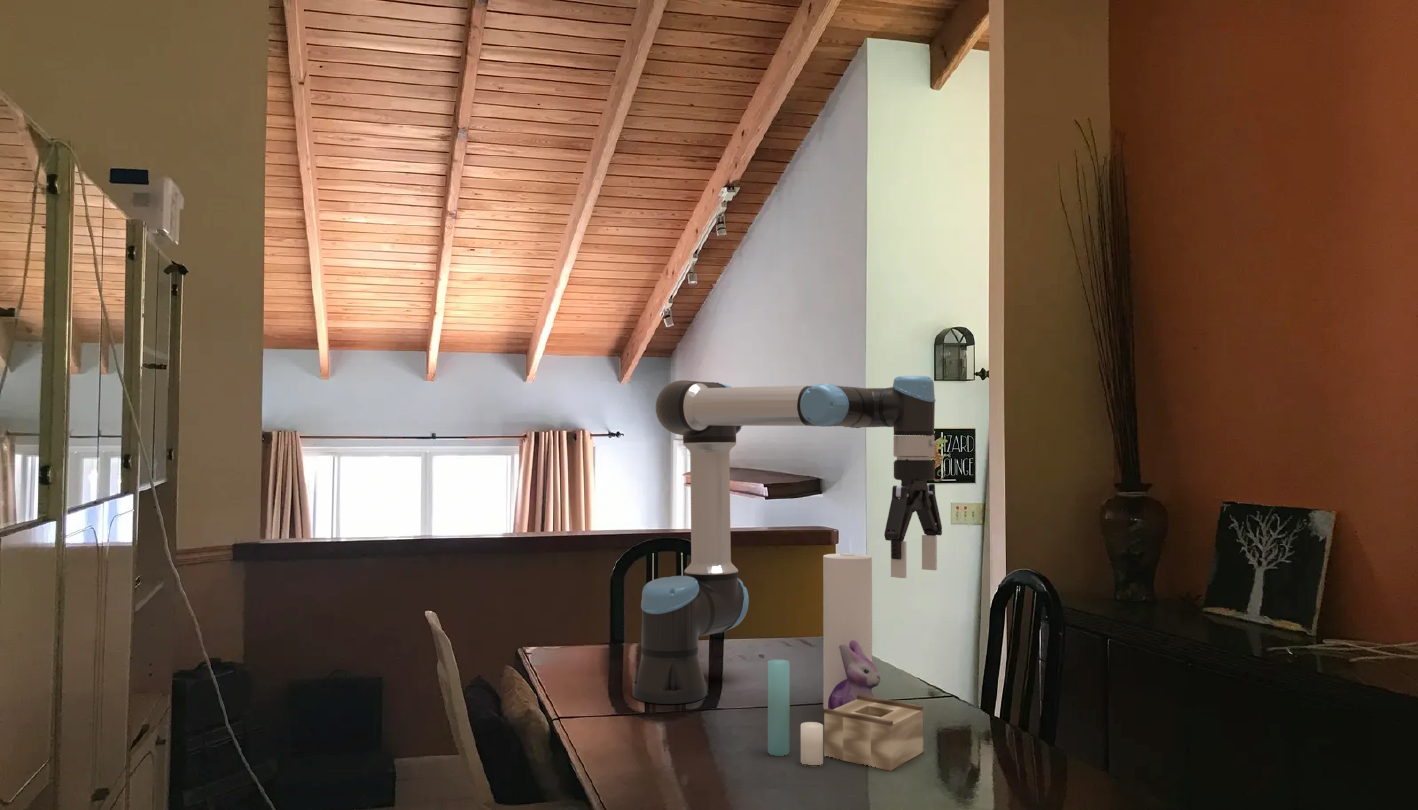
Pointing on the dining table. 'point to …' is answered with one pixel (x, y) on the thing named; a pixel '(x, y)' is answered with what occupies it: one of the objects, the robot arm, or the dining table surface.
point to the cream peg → (812, 743)
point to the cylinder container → (845, 612)
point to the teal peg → (778, 707)
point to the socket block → (874, 732)
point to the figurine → (854, 676)
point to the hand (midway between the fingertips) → (914, 573)
